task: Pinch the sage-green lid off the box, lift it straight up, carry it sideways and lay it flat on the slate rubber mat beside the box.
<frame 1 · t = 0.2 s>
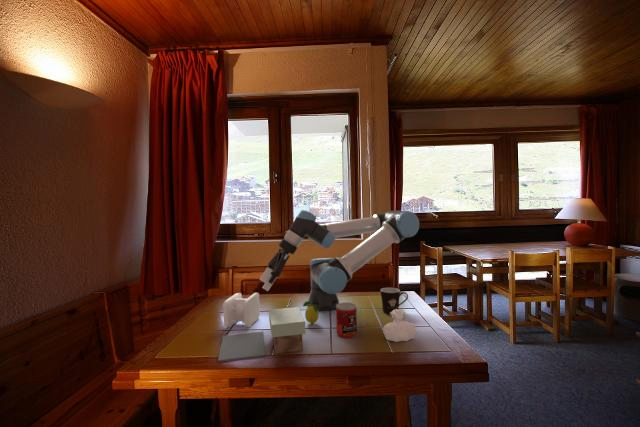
hand: (263, 285, 140), 16 cm above the table, tool tilted 35°, fingers open, 13 cm apart
cable organizer: (242, 324, 140), on the table
lemon: (311, 324, 137), on the table
mat: (242, 346, 118), on the table
bust: (399, 339, 120), on the table
lid: (286, 326, 119), point 6 cm above the table, touching box
coffee mug: (394, 313, 148), on the table
canned food: (346, 334, 126), on the table
box: (286, 343, 119), on the table
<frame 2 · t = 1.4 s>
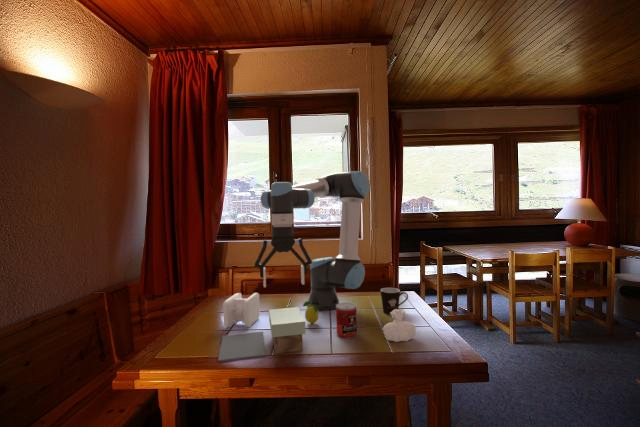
hand: (284, 285, 118), 21 cm above the table, tool pointing down, fingers open, 13 cm apart
nothing on the table moved.
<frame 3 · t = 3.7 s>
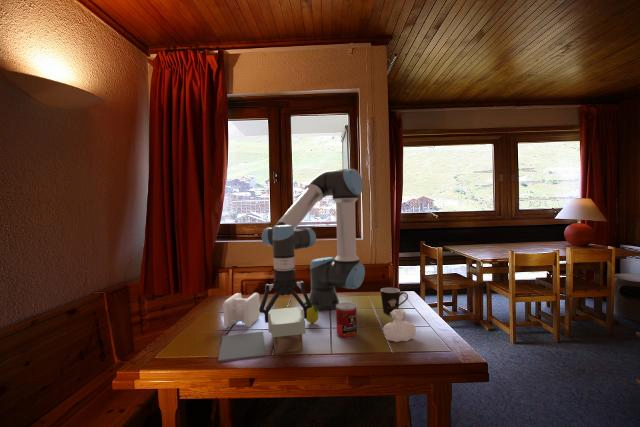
hand: (286, 329, 119), 5 cm above the table, tool pointing down, fingers closed on lid, 11 cm apart
lid: (286, 326, 119), point 6 cm above the table, touching box, gripper
everything else where it was.
when the fingers open (1 cm above the table, at t = 10.7 s): lid drops 2 cm, resting on mat.
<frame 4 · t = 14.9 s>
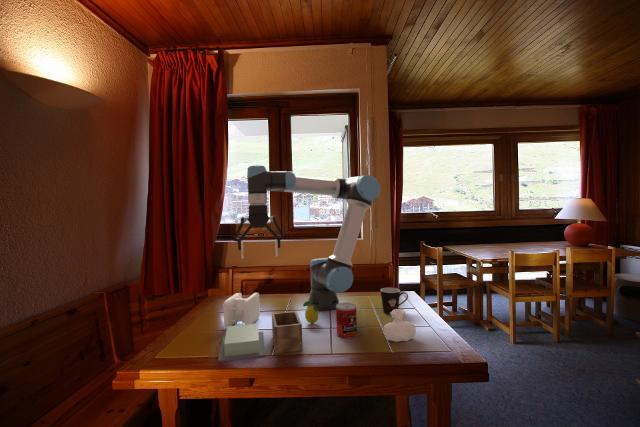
hand: (259, 257, 134), 29 cm above the table, tool pointing down, fingers open, 13 cm apart
lid: (242, 344, 118), point 1 cm above the table, touching mat
everything else where it was.
at the end: lid inside the target area on the mat (0.0 cm from its centre), point 0.6 cm above the mat's base; lid tilted 0°; the gripper is holding nothing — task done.
